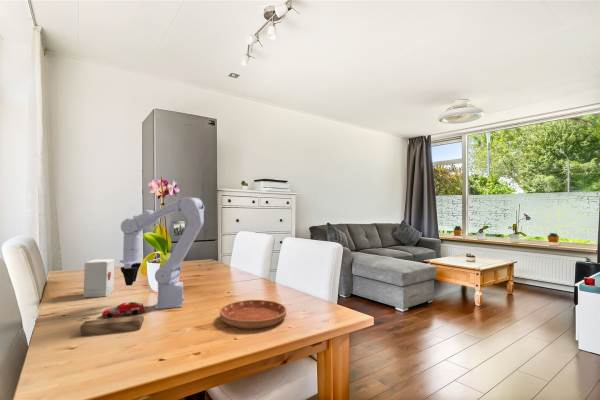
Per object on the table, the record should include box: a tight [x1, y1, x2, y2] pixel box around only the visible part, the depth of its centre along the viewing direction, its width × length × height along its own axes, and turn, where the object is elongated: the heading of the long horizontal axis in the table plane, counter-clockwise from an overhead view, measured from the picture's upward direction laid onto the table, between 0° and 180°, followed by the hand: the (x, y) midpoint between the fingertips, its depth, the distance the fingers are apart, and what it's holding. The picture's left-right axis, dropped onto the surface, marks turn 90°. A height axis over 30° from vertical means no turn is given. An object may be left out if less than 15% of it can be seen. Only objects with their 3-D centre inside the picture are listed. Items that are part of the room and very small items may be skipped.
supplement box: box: [82, 258, 115, 298], centre depth 136 cm, size 9×9×15 cm
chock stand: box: [79, 315, 145, 337], centre depth 99 cm, size 16×8×3 cm, turn 108°
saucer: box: [219, 299, 287, 330], centre depth 108 cm, size 23×23×4 cm
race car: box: [101, 301, 145, 319], centre depth 111 cm, size 13×5×4 cm, turn 116°
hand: (130, 283), depth 122 cm, fingers open, 5 cm apart
